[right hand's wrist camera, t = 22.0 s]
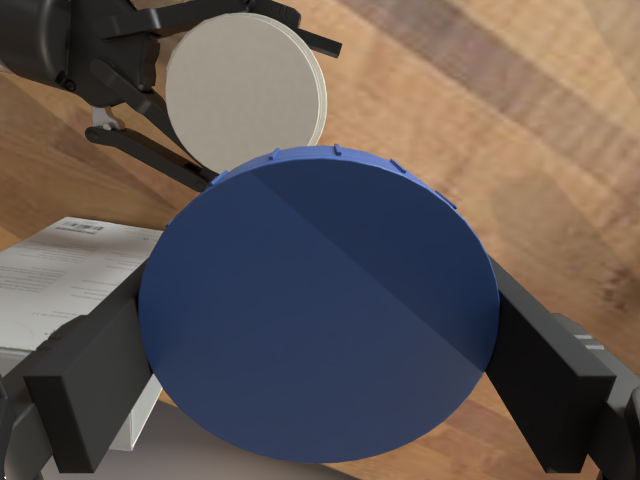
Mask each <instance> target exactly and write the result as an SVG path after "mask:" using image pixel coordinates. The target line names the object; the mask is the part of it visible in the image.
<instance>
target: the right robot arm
mask: <svg viewBox="0 0 640 480" xmlns="http://www.w3.org/2000/svg"><path fill="white" fill-rule="evenodd" d="M487 255H488V254H487ZM488 257H489V259H490V262H491V265H492V268H493V271H494V274H495V277H496V281H497V288H498V294H499V327H498V334H497V340H496V343H495V347H494V350H493V353H492V356H491V359H490V361H489V363H488V365H487V368H486V370H485V372H486V374H487V376H488V377H489V379H490V381H491V382H492V384H493V386H494V387H495V389H496V391H497V392H498V394H499V396H500V397H501V399H502V401H503V402H504V404H505V406H506V407H507V409H508V411H509V412H510V414H511V416H512V417H513V419H514V421H515V422H516V424H517V426H518V427H519V429H520V431H521V432H522V434H523V436H524V437H525V439H526V441H527V442H528V444H529V446H530V447H531V449H532V451H533V452H534V454H535V456H536V457H537V459H538V461H539V463H540V464H541V466H542V468H543V469H544V471H545V473H580V472H581V469H582V467H583V464H584V461H585V459H586V456H587V454H589V456H590V457H591V458H592V460H593V461H594V462H595V464H596V465H597V466H598V468H599V469H600V471H599V474H598V476H597V479H596V480H640V378H639V377H638V376H637V375H636V374H635V373H633V372H632V371H631V370H630V369H629V368H628V367H627V366H625V365H624V364H623V363H622V362H621V361H620V360H619V359H618V358H616V357H615V356H614V355H613V354H612V353H611V352H610V351H608V350H607V349H604V346H603V345H602V344H601V343H599V342H598V341H597V340H596V339H593V338H592V335H590V334H589V333H588V332H587V331H586V330H585V329H584V328H582V327H581V326H580V325H579V324H578V323H576V322H574V321H572V320H570V319H569V318H567V317H565V316H563V315H561V314H559V313H550V312H549V311H548V310H547V309H546V308H545V307H543V306H542V305H541V304H540V303H539V302H538V301H537V300H536V299H535V298H534V297H533V296H532V295H531V294H530V293H529V292H528V291H527V290H525V289H524V288H523V287H522V286H521V285H520V284H519V283H518V282H517V281H516V280H515V279H514V278H513V277H512V276H511V275H510V274H508V273H507V272H506V271H505V270H504V269H503V268H502V267H501V266H500V265H499V264H498V263H497V262H496V261H495V260H494V259H493V258H492V257H490V256H489V255H488ZM148 259H149V257H148V258H147V259H146V260H145V261H144V262H143V263H142V264H141V265H140V266H139V267H138V268H137V269H135V270H134V271H133V272H132V273H131V274H130V275H129V276H128V277H127V278H126V279H125V280H124V281H123V282H122V283H121V284H120V285H119V286H117V287H116V288H115V289H114V290H113V291H112V292H111V293H110V294H109V295H108V296H107V297H106V298H105V299H104V300H103V301H102V302H101V303H99V304H98V305H97V306H96V307H95V308H94V309H93V310H92V311H91V312H90V313H89V314H88V315H79V316H77V317H76V318H74V319H72V320H70V321H68V322H67V323H65V324H63V325H61V326H60V327H59V328H58V329H57V330H56V331H55V332H54V333H52V334H51V335H50V336H49V337H48V340H45V341H43V342H42V343H41V344H40V345H39V346H38V347H37V348H36V351H32V352H31V353H30V354H29V355H28V356H27V357H25V358H24V359H23V360H22V361H21V362H20V363H19V364H18V365H16V366H15V367H14V368H13V369H12V370H11V371H10V372H9V373H7V374H6V375H5V376H4V377H3V378H2V376H1V374H0V480H43V476H42V474H41V469H42V468H43V467H44V465H45V464H46V463H47V461H48V460H49V459H50V457H51V456H52V455H53V457H54V460H55V462H56V465H57V467H58V470H59V473H94V472H95V470H96V469H97V467H98V465H99V464H100V462H101V460H102V459H103V457H104V455H105V454H106V452H107V450H108V449H109V447H110V445H111V444H112V442H113V440H114V439H115V437H116V435H117V434H118V432H119V430H120V429H121V427H122V425H123V424H124V422H125V420H126V419H127V417H128V415H129V414H130V412H131V410H132V409H133V407H134V405H135V404H136V402H137V400H138V399H139V397H140V395H141V394H142V392H143V390H144V389H145V387H146V385H147V384H148V382H149V380H150V379H151V377H152V375H153V374H154V373H153V371H152V369H151V366H150V364H149V362H148V360H147V357H146V354H145V349H144V345H143V340H142V336H141V331H140V326H139V321H138V296H139V290H140V285H141V280H142V275H143V272H144V270H145V267H146V264H147V261H148Z"/></svg>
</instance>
